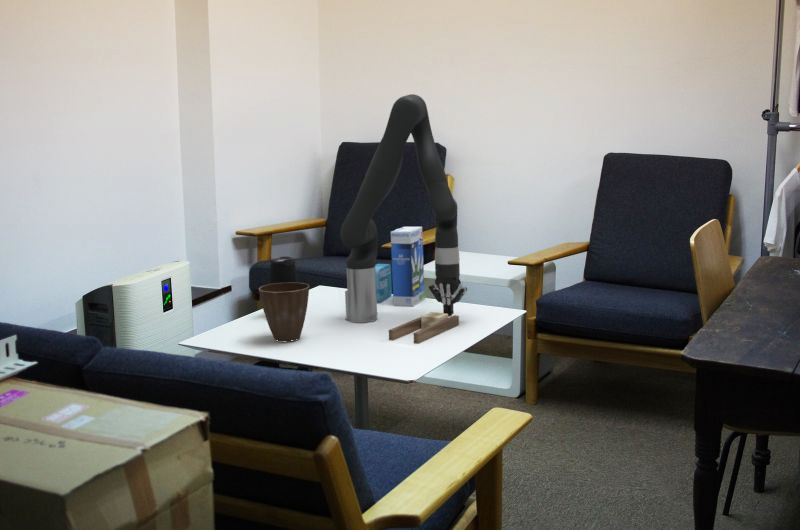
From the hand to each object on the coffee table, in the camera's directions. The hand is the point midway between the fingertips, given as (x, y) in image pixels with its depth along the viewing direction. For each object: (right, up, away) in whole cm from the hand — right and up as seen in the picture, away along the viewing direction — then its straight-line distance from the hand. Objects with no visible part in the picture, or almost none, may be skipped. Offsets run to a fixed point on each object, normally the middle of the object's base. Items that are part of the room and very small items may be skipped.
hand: (448, 315), depth 289 cm
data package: (-22, +3, +39) cm, 45 cm away
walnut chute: (-8, -5, -12) cm, 15 cm away
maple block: (-5, -3, -7) cm, 9 cm away
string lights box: (-12, +3, +33) cm, 35 cm away
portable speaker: (-53, -1, +18) cm, 56 cm away
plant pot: (-49, -7, -11) cm, 51 cm away
